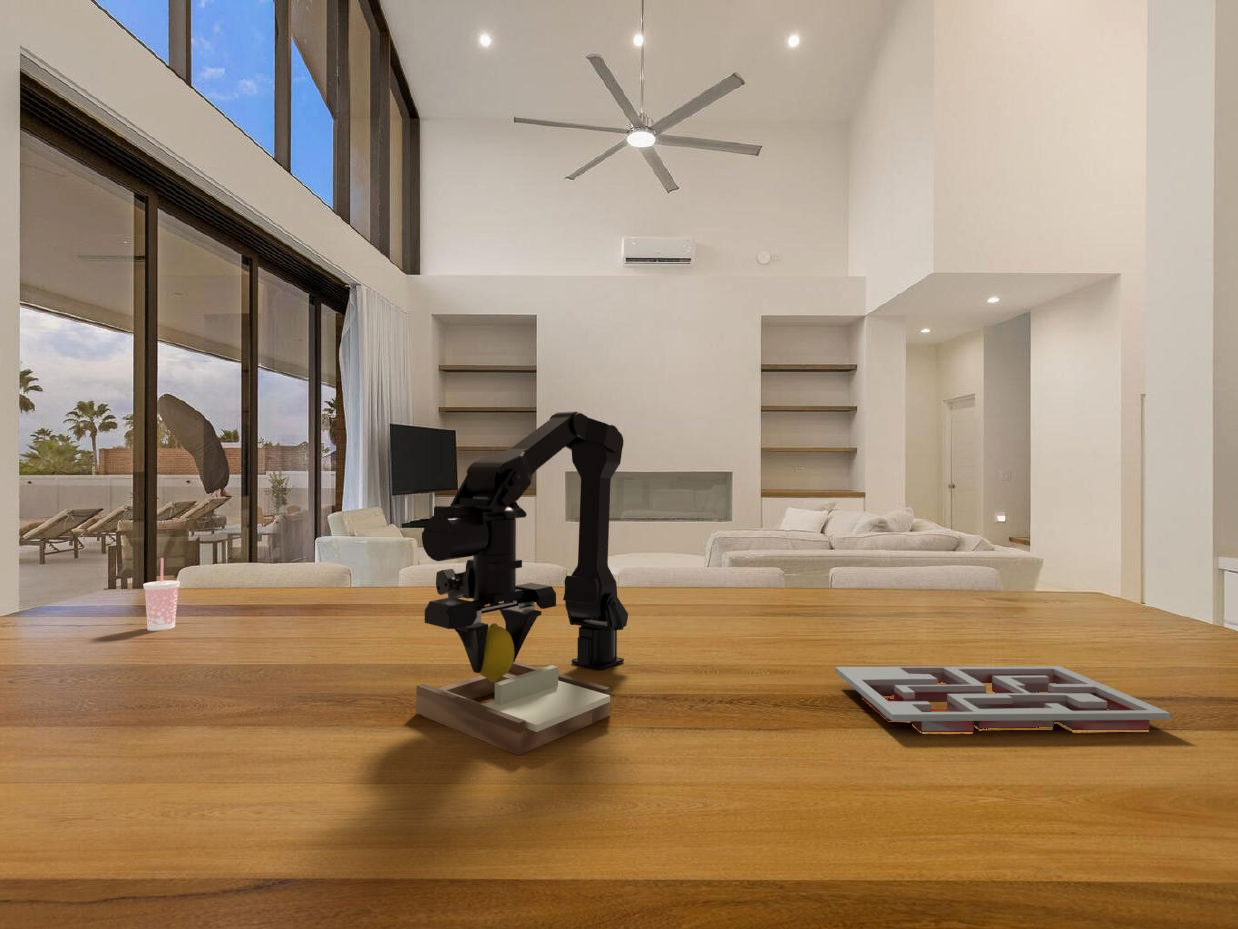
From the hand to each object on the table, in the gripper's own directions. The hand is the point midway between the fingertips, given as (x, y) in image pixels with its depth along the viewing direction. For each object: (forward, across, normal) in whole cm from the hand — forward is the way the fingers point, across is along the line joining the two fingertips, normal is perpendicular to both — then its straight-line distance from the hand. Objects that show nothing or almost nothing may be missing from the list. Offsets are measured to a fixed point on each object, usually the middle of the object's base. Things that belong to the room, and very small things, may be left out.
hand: (494, 667), depth 91 cm
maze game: (+6, -44, +52) cm, 68 cm away
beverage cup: (+6, +14, -85) cm, 86 cm away
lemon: (+2, 0, 0) cm, 2 cm away
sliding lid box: (+5, 0, +4) cm, 7 cm away
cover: (+3, 0, +10) cm, 11 cm away
